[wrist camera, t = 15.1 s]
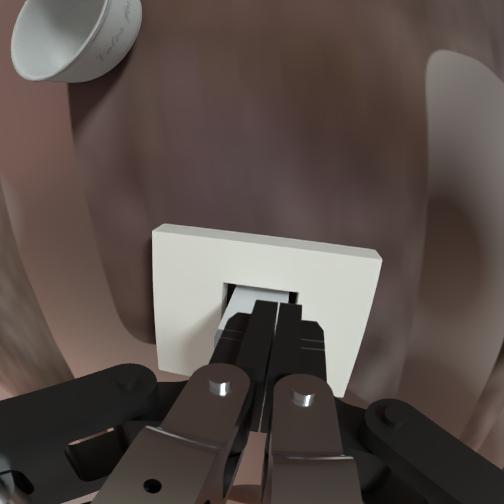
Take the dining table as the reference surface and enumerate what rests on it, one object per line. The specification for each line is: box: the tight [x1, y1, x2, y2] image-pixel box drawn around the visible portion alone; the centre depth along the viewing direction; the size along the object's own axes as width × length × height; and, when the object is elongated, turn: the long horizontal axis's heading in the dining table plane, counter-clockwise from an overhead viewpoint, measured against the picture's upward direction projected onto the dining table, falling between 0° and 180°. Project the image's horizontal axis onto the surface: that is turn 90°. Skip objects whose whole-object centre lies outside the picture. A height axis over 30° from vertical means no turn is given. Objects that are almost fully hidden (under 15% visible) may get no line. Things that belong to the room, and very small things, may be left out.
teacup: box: [11, 0, 142, 83], centre depth 18 cm, size 14×11×8 cm
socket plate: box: [152, 224, 382, 397], centre depth 27 cm, size 18×14×2 cm
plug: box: [214, 284, 289, 406], centre depth 24 cm, size 4×5×9 cm
